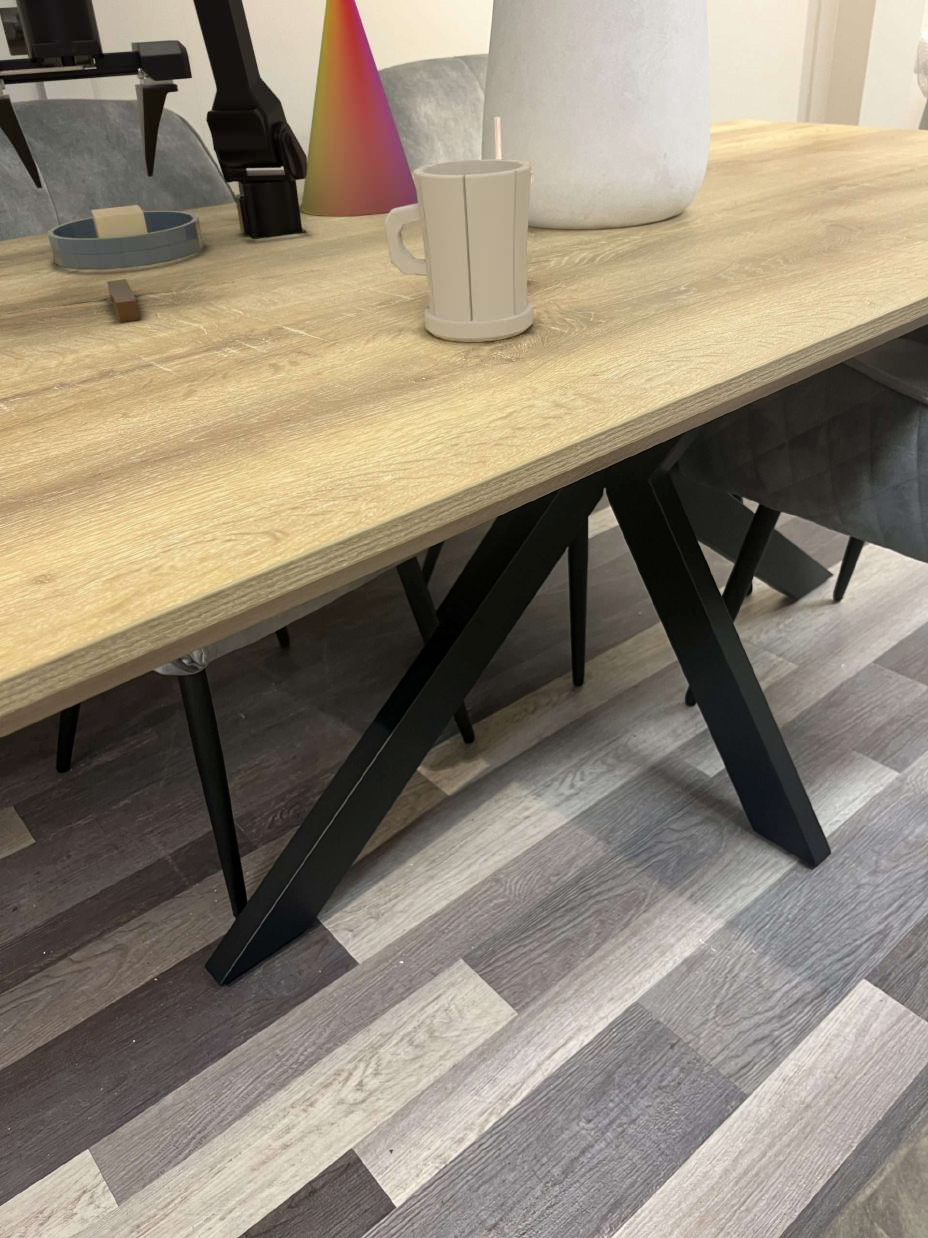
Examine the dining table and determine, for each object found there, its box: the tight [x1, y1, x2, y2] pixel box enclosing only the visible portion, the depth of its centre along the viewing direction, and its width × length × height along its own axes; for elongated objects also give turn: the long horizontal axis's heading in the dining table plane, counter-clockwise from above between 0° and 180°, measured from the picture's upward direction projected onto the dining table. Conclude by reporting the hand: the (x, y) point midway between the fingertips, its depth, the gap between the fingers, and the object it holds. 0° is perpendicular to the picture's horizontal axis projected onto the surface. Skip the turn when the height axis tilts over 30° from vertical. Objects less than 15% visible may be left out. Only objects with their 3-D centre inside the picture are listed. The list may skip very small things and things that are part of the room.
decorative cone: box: [300, 0, 418, 217], centre depth 126 cm, size 16×16×30 cm
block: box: [91, 204, 148, 238], centre depth 107 cm, size 5×5×5 cm
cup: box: [383, 158, 534, 343], centre depth 77 cm, size 10×9×12 cm
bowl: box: [47, 210, 205, 271], centre depth 111 cm, size 16×16×4 cm
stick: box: [106, 278, 141, 323], centre depth 91 cm, size 9×2×2 cm, turn 22°
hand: (95, 181), depth 86 cm, fingers open, 9 cm apart
